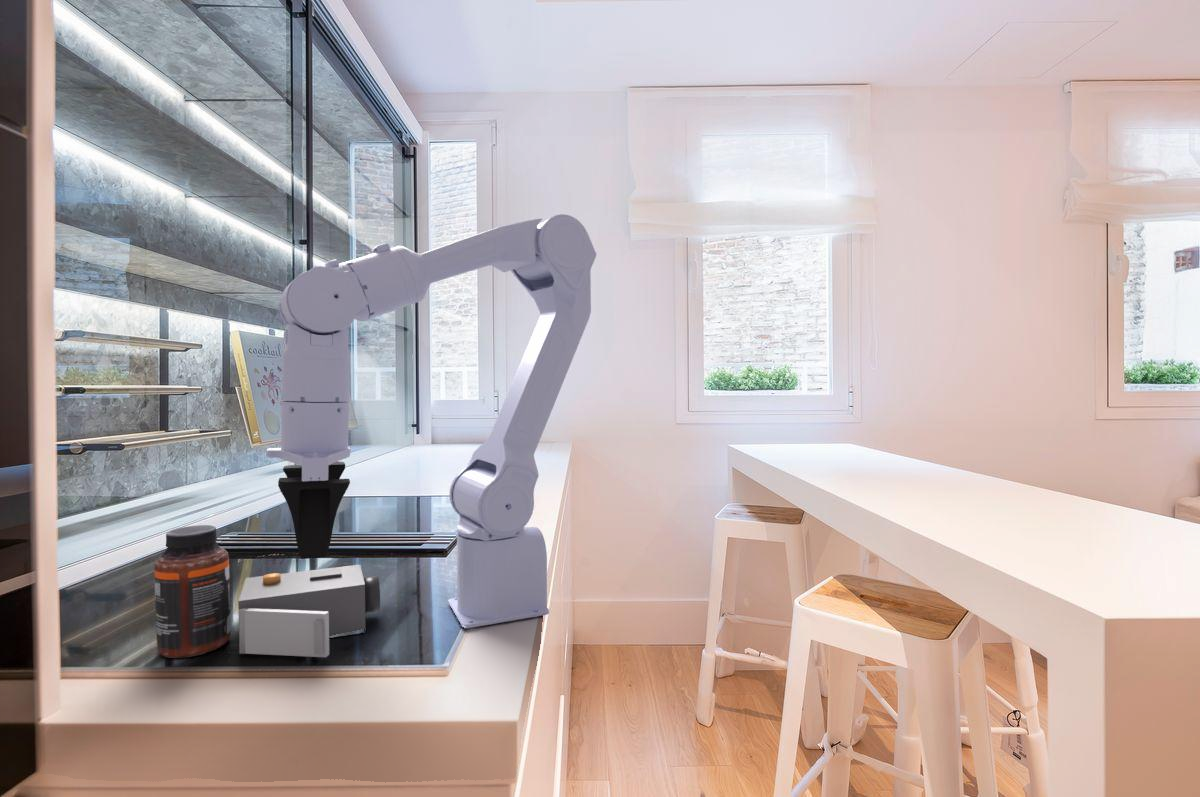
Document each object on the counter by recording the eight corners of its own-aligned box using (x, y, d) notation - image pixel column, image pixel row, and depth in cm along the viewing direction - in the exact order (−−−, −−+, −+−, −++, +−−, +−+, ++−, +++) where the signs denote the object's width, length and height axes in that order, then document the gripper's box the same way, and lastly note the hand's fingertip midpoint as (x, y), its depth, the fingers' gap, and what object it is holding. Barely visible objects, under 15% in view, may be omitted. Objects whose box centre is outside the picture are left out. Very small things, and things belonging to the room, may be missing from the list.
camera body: (376, 606, 69) (376, 557, 69) (383, 630, 63) (382, 576, 62) (246, 625, 64) (245, 572, 63) (239, 653, 57) (238, 594, 57)
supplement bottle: (245, 635, 61) (243, 522, 61) (201, 663, 56) (198, 539, 55) (189, 632, 62) (187, 521, 62) (140, 659, 56) (136, 536, 56)
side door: (329, 653, 57) (329, 611, 56) (322, 659, 55) (322, 616, 55) (243, 649, 57) (242, 607, 57) (234, 655, 56) (233, 612, 56)
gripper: (272, 397, 62) (270, 531, 63) (261, 404, 49) (258, 572, 50) (347, 399, 65) (345, 526, 66) (356, 405, 52) (352, 564, 53)
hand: (313, 545), depth 58 cm, fingers open, 7 cm apart
